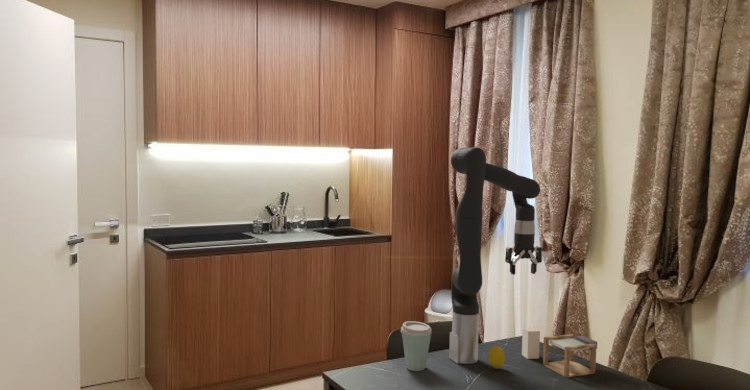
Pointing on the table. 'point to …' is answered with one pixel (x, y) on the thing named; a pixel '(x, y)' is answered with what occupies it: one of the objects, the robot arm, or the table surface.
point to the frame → (569, 359)
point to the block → (530, 343)
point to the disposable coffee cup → (416, 344)
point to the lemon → (496, 357)
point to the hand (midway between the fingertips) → (523, 273)
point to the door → (573, 342)
